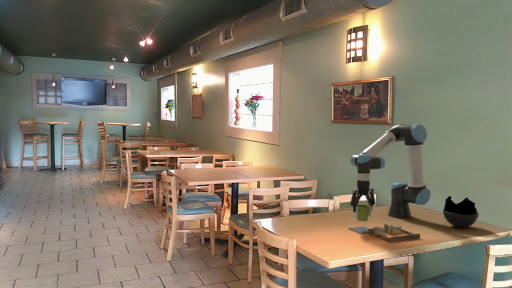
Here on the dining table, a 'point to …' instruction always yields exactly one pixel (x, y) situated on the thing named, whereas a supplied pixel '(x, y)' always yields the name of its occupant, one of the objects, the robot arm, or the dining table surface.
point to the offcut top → (388, 228)
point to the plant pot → (363, 212)
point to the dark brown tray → (397, 238)
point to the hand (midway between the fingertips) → (362, 216)
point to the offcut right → (396, 229)
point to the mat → (360, 229)
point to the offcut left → (379, 230)
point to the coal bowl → (460, 213)
